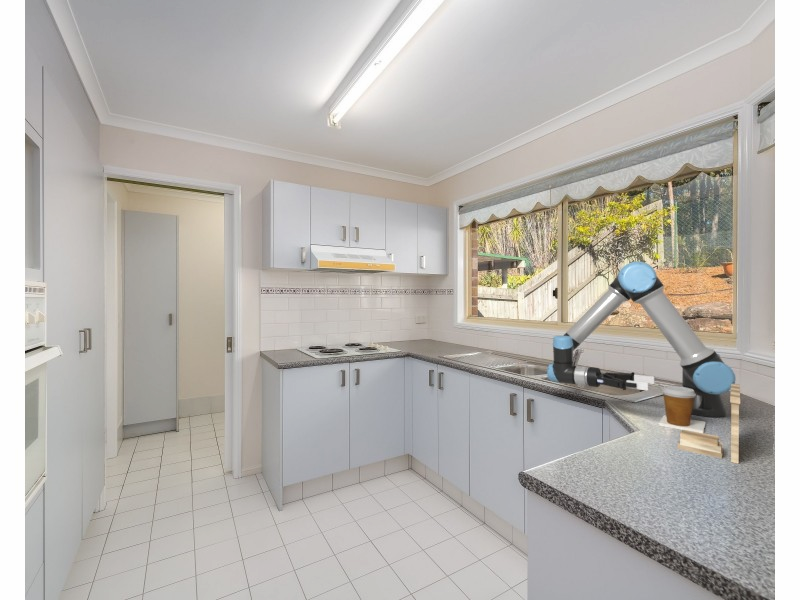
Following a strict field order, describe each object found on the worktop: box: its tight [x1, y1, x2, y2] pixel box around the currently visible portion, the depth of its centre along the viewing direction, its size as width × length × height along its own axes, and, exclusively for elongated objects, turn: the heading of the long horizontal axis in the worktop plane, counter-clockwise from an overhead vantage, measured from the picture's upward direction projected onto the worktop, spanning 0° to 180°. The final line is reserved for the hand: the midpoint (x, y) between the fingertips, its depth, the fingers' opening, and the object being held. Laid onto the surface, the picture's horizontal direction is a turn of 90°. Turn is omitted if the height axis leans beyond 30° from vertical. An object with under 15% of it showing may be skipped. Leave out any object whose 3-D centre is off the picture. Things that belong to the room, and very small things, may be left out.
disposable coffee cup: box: [661, 385, 696, 426], centre depth 132 cm, size 10×10×12 cm
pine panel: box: [729, 383, 741, 465], centre depth 112 cm, size 25×2×17 cm, turn 139°
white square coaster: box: [658, 414, 706, 434], centre depth 134 cm, size 12×12×1 cm
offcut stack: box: [676, 429, 724, 459], centre depth 111 cm, size 6×10×5 cm, turn 48°
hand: (651, 383), depth 139 cm, fingers open, 13 cm apart
